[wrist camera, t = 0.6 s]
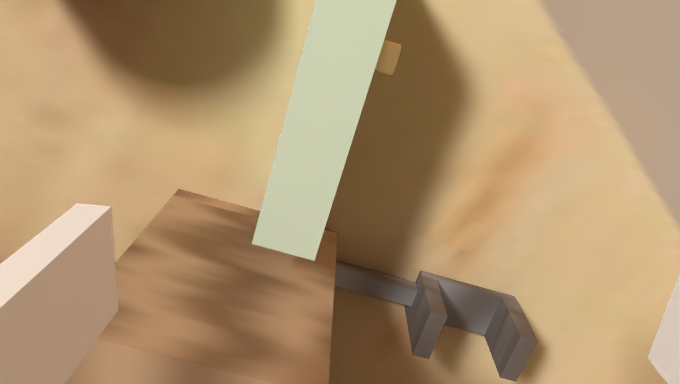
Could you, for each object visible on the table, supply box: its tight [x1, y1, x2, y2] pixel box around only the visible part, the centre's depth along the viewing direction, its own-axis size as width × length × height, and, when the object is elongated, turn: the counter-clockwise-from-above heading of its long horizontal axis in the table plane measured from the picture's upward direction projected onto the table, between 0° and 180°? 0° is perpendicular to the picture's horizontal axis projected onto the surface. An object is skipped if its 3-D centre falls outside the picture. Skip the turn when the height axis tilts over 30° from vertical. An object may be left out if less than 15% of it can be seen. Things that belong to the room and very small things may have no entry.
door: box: [252, 0, 401, 261], centre depth 26 cm, size 4×14×8 cm, turn 163°
